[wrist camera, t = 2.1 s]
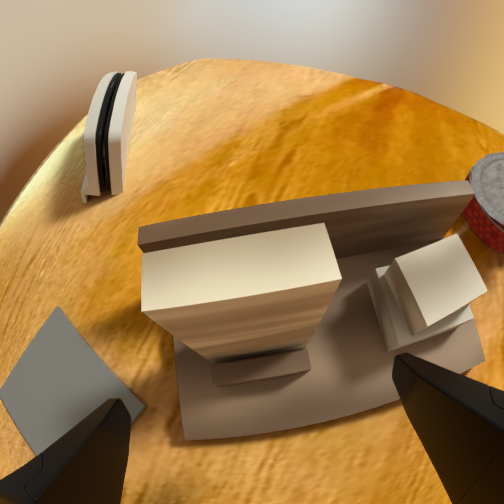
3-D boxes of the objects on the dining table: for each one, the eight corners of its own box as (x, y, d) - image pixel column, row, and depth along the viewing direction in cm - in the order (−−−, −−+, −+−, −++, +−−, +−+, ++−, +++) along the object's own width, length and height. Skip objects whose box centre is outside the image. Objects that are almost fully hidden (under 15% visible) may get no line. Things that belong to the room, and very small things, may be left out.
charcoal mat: (71, 495, 14) (68, 495, 13) (1, 393, 18) (-2, 393, 17) (146, 406, 18) (144, 406, 18) (60, 308, 22) (57, 306, 22)
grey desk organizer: (474, 364, 17) (536, 339, 10) (190, 438, 17) (147, 452, 10) (430, 235, 23) (467, 180, 16) (176, 280, 23) (138, 227, 16)
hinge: (104, 119, 36) (103, 58, 28) (135, 118, 37) (139, 57, 29) (82, 206, 28) (66, 130, 19) (123, 204, 29) (118, 127, 21)
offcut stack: (459, 326, 17) (493, 306, 14) (386, 352, 17) (414, 337, 13) (436, 262, 20) (462, 232, 16) (365, 278, 20) (384, 248, 16)
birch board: (305, 348, 18) (342, 278, 8) (212, 363, 18) (141, 311, 8) (299, 318, 19) (324, 222, 9) (209, 333, 19) (142, 253, 9)
